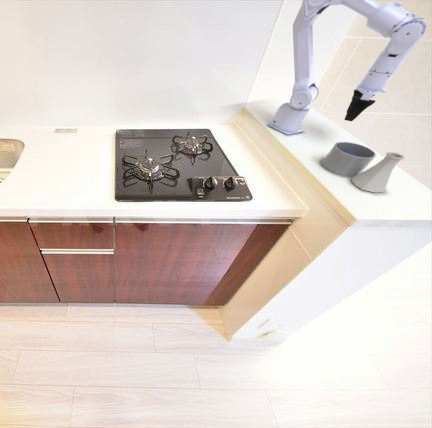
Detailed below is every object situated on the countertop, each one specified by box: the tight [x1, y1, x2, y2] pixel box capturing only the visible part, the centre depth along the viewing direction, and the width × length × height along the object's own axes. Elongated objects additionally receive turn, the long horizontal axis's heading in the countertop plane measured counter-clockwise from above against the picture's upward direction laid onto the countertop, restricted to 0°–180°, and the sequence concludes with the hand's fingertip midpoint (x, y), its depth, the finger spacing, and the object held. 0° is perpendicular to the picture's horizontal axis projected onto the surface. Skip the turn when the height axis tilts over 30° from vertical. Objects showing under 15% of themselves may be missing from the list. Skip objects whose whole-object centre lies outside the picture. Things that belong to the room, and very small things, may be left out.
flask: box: [351, 151, 405, 193], centre depth 63 cm, size 7×7×10 cm
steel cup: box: [321, 141, 377, 178], centre depth 70 cm, size 10×10×6 cm
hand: (349, 116), depth 78 cm, fingers open, 7 cm apart
